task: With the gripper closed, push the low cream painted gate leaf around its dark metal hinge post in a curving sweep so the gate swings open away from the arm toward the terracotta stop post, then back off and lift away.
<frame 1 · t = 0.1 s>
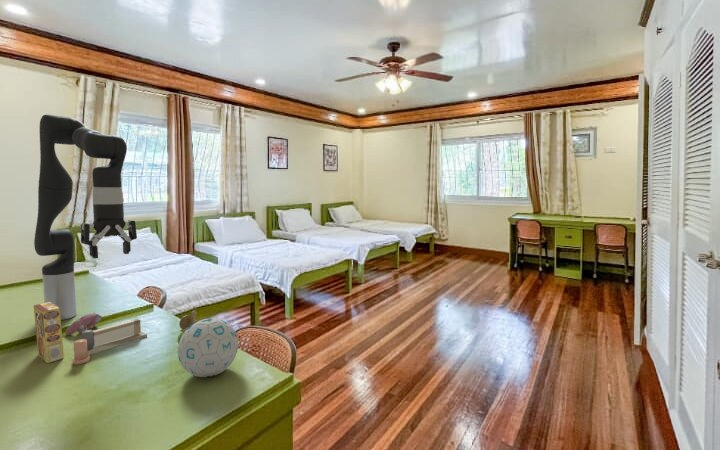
hand: (111, 255, 112), 29 cm above the table, tool pointing down, fingers open, 8 cm apart
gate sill: (114, 344, 117), on the table
candy box: (50, 357, 108), on the table
gate leaf: (112, 332, 116), point 4 cm above the table, hinge at 0.0°
puzzle ball: (209, 374, 100), on the table
stop post: (81, 361, 105), on the table
snail figurine: (188, 347, 116), on the table
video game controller: (84, 331, 127), on the table
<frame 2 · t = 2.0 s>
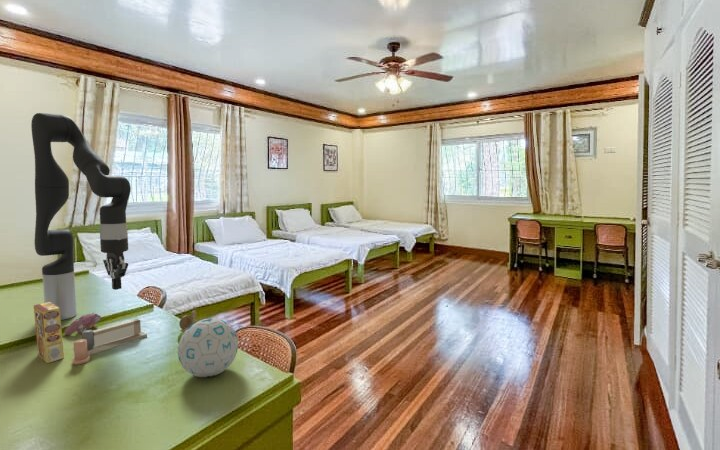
hand: (116, 288, 122), 16 cm above the table, tool pointing down, fingers closed
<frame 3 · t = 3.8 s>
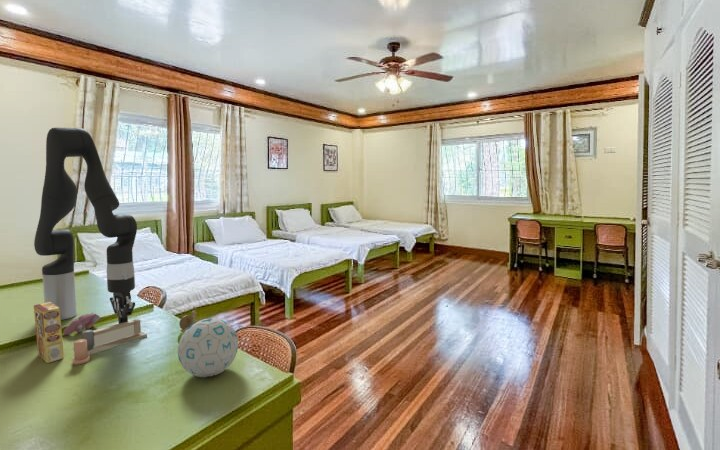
hand: (123, 327, 121), 4 cm above the table, tool pointing down, fingers closed
gate leaf: (112, 332, 116), point 4 cm above the table, hinge at 0.0°, touching gripper
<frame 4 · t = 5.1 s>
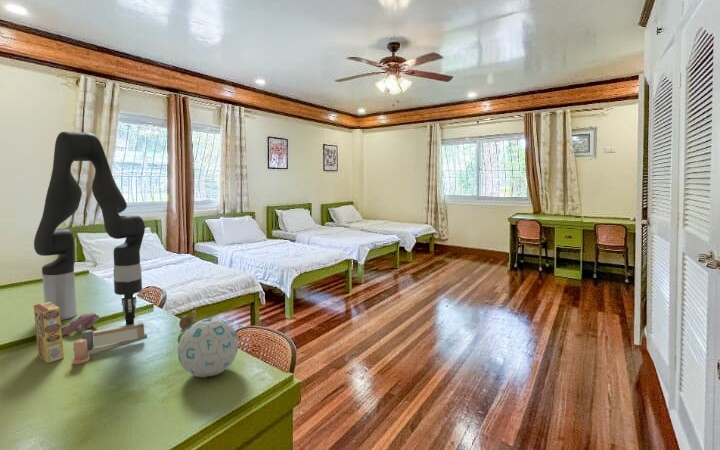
hand: (130, 329, 119), 4 cm above the table, tool pointing down, fingers closed
gate leaf: (114, 334, 114), point 4 cm above the table, hinge at 19.2°, touching gripper
everything else where it was.
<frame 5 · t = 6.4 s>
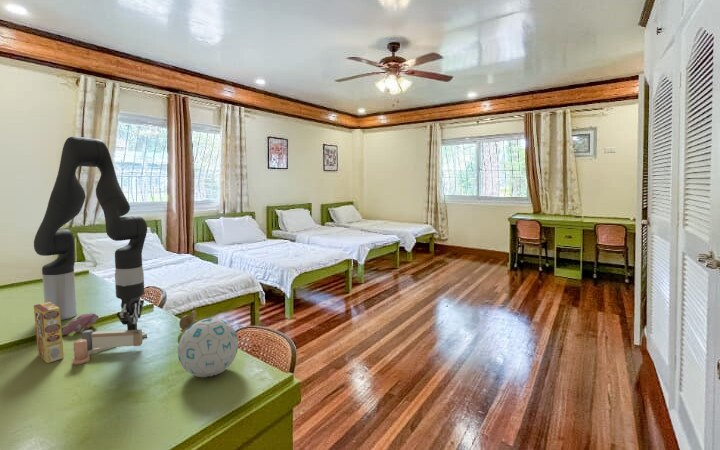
hand: (132, 334, 116), 4 cm above the table, tool pointing down, fingers closed
gate leaf: (112, 338, 112), point 4 cm above the table, hinge at 44.9°, touching gripper
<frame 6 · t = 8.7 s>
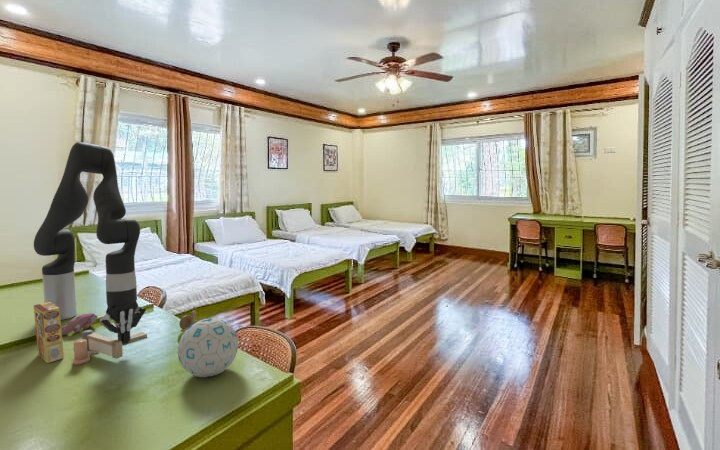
hand: (124, 343, 110), 3 cm above the table, tool pointing down, fingers closed
gate leaf: (101, 344, 108), point 4 cm above the table, hinge at 79.9°
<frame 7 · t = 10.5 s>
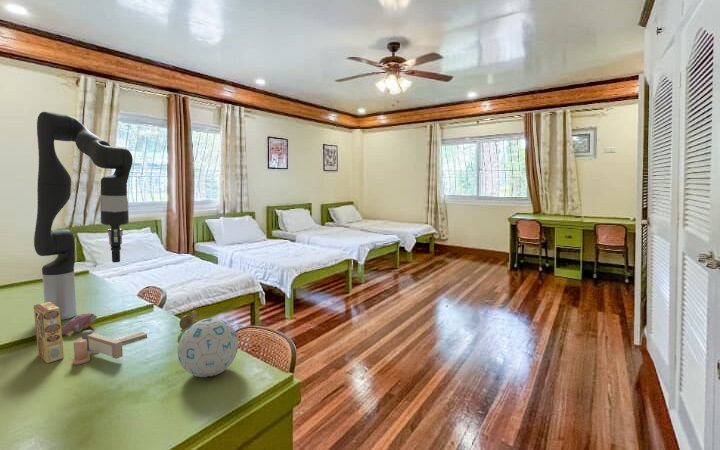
hand: (116, 261, 121), 25 cm above the table, tool pointing down, fingers closed
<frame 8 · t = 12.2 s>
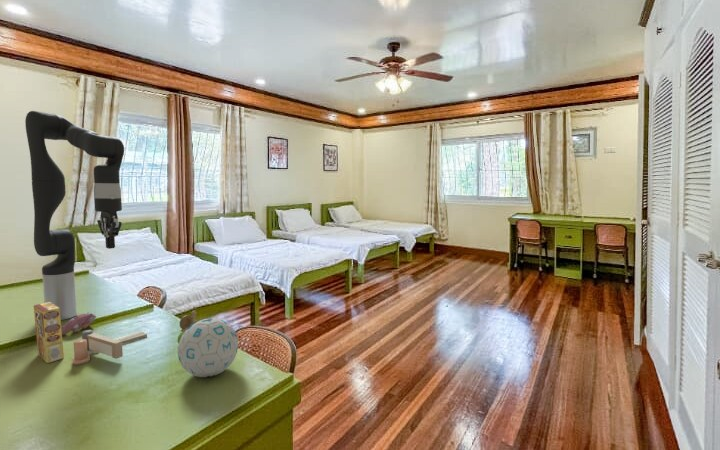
hand: (110, 248, 124), 29 cm above the table, tool pointing down, fingers closed
at the end: gate leaf at +80° (first picture: +0°); candy box moved 0.2 cm from its start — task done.
